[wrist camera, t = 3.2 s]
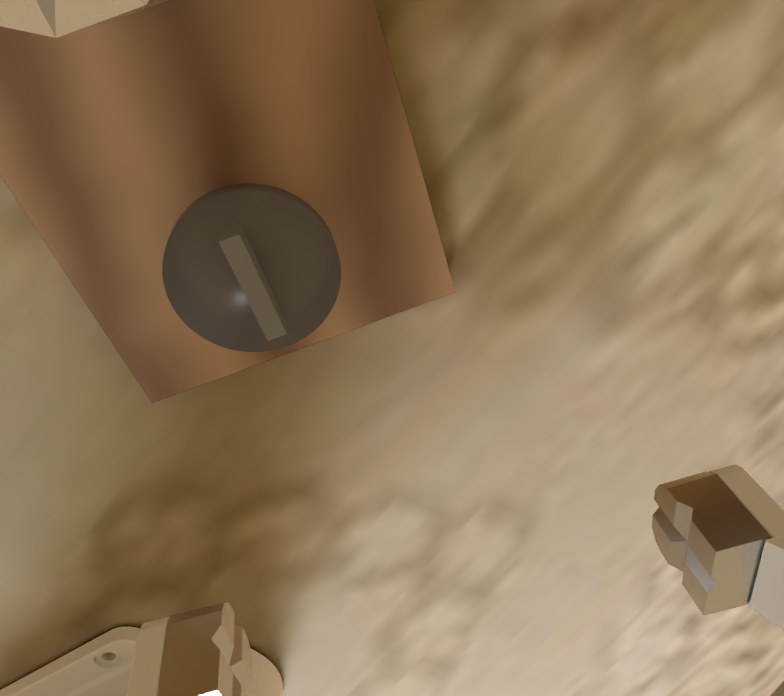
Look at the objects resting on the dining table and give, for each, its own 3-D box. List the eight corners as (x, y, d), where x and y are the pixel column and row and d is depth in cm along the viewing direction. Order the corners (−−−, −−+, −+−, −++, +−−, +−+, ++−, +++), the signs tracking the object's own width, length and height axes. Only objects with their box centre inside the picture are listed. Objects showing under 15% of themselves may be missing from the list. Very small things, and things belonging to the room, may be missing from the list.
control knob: (216, 328, 29) (209, 390, 25) (143, 195, 26) (121, 241, 21) (351, 279, 29) (368, 332, 25) (297, 139, 26) (306, 173, 21)
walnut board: (156, 386, 32) (152, 403, 31) (-285, -292, 18) (-326, -312, 17) (447, 279, 32) (455, 291, 31) (232, -481, 18) (229, -515, 17)
